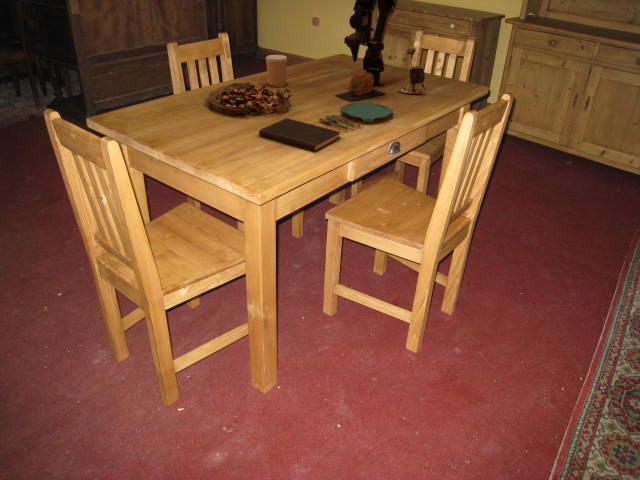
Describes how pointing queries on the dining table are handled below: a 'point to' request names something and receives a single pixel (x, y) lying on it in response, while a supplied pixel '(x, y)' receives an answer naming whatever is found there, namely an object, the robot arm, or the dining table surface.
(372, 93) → the placemat
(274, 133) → the hardcover book
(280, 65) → the glass of beer
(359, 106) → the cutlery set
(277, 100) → the food dish
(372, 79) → the tin
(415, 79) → the plant with pod
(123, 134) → the dining table surface
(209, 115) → the dining table surface
